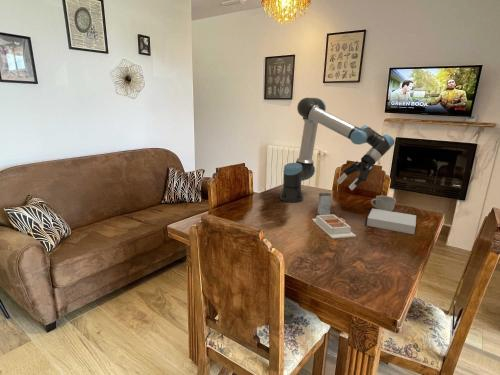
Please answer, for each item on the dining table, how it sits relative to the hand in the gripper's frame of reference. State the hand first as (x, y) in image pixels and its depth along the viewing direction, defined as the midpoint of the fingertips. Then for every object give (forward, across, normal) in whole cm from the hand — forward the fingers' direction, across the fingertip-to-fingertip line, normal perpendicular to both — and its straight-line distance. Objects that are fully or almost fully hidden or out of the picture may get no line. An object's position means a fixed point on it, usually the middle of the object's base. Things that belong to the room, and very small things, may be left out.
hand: (343, 185), depth 165 cm
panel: (+19, 0, -4) cm, 20 cm away
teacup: (-6, 0, -30) cm, 31 cm away
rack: (+22, -19, -1) cm, 29 cm away
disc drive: (0, -20, -24) cm, 32 cm away
